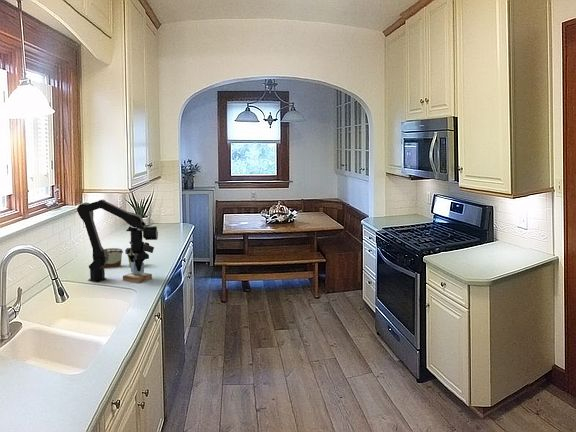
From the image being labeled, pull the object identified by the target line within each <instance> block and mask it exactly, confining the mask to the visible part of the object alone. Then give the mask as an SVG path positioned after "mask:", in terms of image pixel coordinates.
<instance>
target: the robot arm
mask: <svg viewBox="0 0 576 432" xmlns="http://www.w3.org/2000/svg"><path fill="white" fill-rule="evenodd" d="M99 209H102V210H103V211H106V212H108V213H110V214H112V215H114V216H116V217H118V218H120V219H122V220H123V221H124V222H125V223H127V224H128V225H129V227H128V228H127V229H126V230H125V231H126V232H130V240H129V244H130V247H127V248H126V249H124V250H125V254H126V255H127V254H128V253H129V255H127V258H128V257H129V259H130V261H131V262H135V265H136V268H137V270H138V271H140V270H141V266H142V263H144V261H145V260H149V259H150V255H149V254H148V253H150V254H153V252H154V249H155V246H152V245H150V243H149V242H146V241H157V240H158V238H159V232H158V227H157V226H156V225H153V226H148V225H147V224H146V222H145V221H144V219H143V216H142V215H140V214H138V213H134V212H131V211H127V210H124V209H123V208H121V207H119V206H116V205H114V204H112V203H110V202H108V201H107V200H105V199H99V200H97V201H94V202H91V203H90V202H83V203H80V204H79V205H78V206H77V207H76V212H77V214H78V216H79V218H80V219H81V221H82V222H83V223H84V227H85V229H86V232H87V236H88V238H89V242H90V245H91V248H92V262H91V263H90V264H89V265H88V268H89V275H90V278H89V279H87V281H89V280H90V281H89V282H95V281H96V282H97V283H98V282H103V281H105V280H107V279H108V278H107V277H106V276H105V275H106V273H105V268H104V267H103V266H104V264H105V263H106V262H107V261H108V256H109V255H108V252H107V249H108V248H103V246H102V243H101V240H100V237H99V233H98V230H97V228H96V225H95V221H94V211H96V210H99ZM143 239H144V240H145V242H144V241H143ZM129 259H128V260H129Z"/></svg>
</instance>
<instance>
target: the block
mask: <svg viewBox="0 0 576 432" xmlns="http://www.w3.org/2000/svg"><path fill="white" fill-rule="evenodd" d="M130 272H131V273H134V274H137V273H145V263H144V262H143V263H142V266H141V270H140V271H138V270H137V268H136V265H135V262H131V267H130Z"/></svg>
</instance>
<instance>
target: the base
mask: <svg viewBox="0 0 576 432" xmlns="http://www.w3.org/2000/svg"><path fill="white" fill-rule="evenodd" d="M152 279H153V274H152V273H149V272H144V273H137V274H134V273H132V272H131V273H128V274H125V275H122V282H123V281H124V282H130V283H134V284H141V283H143V282H145V281H146V282H147V281H149V280H152Z"/></svg>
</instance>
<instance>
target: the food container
mask: <svg viewBox="0 0 576 432" xmlns="http://www.w3.org/2000/svg"><path fill="white" fill-rule="evenodd" d="M106 249H107V252H108V255H109V256H108V261H107V262H106V263H105V264H104V266H103V267H104V269H113V268H121V267H122V258H123V257H122V256H123V254H124V250H123V249H122V248H120V247H119V248H117V247H112V248H111V247H110V248H106Z"/></svg>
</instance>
